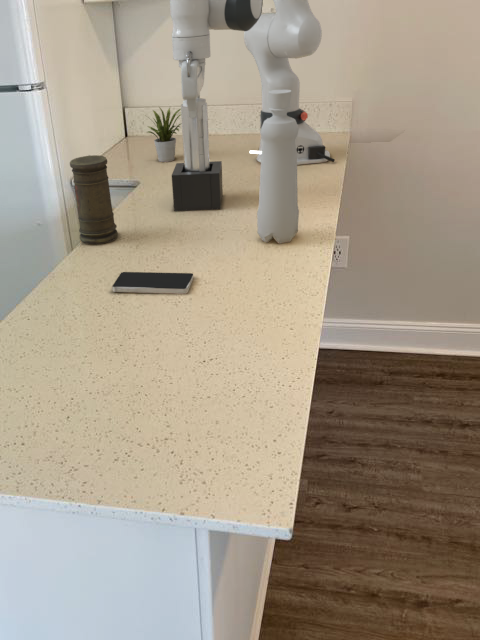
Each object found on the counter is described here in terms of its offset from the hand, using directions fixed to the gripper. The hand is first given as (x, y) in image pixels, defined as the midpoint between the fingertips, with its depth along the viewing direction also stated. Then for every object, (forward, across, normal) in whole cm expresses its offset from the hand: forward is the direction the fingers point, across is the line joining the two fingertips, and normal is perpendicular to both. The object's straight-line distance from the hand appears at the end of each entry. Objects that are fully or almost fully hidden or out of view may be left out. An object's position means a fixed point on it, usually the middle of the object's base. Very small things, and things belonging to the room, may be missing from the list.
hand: (194, 113), depth 165 cm
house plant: (+22, +49, +13) cm, 55 cm away
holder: (+22, 0, 0) cm, 22 cm away
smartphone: (+22, -54, +5) cm, 58 cm away
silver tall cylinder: (+22, 0, 0) cm, 22 cm away
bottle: (+22, -29, -20) cm, 42 cm away
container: (+22, -25, +22) cm, 40 cm away
